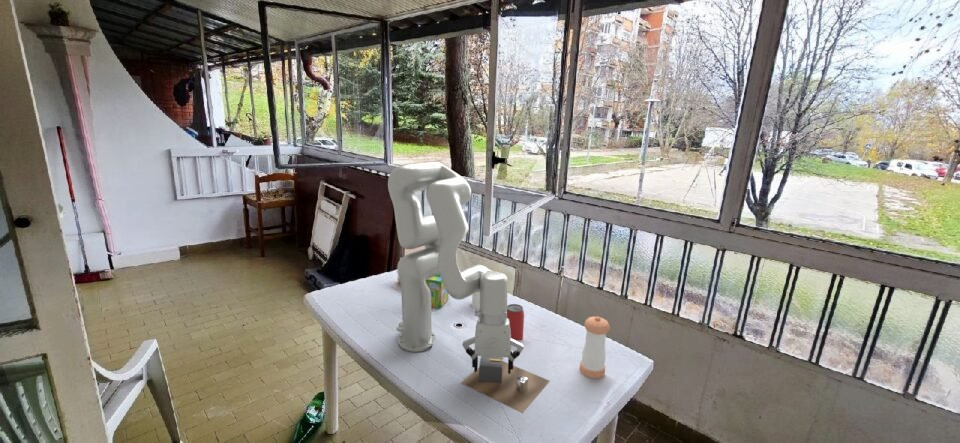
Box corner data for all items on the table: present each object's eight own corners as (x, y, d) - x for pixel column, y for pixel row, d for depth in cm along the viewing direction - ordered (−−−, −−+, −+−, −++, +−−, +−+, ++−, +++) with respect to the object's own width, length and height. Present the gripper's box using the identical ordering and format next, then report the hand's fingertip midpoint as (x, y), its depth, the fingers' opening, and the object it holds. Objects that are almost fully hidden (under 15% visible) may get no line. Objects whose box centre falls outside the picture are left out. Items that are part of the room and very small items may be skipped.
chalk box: (419, 305, 164) (419, 271, 160) (428, 296, 172) (428, 263, 169) (441, 309, 161) (440, 274, 158) (449, 299, 170) (449, 265, 166)
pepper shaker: (589, 385, 118) (595, 325, 113) (574, 370, 124) (579, 313, 119) (609, 379, 121) (616, 320, 116) (593, 365, 127) (599, 309, 122)
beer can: (521, 345, 137) (523, 313, 134) (502, 343, 138) (503, 310, 135) (523, 335, 143) (525, 304, 140) (505, 333, 145) (506, 302, 142)
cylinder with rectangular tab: (480, 298, 172) (481, 271, 168) (498, 304, 167) (499, 276, 163) (467, 305, 164) (467, 278, 161) (485, 312, 159) (486, 283, 156)
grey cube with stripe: (478, 381, 116) (479, 365, 115) (480, 367, 122) (481, 352, 121) (501, 383, 116) (502, 367, 114) (502, 369, 122) (502, 354, 120)
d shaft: (514, 389, 113) (515, 379, 112) (519, 384, 115) (519, 374, 114) (522, 393, 112) (523, 382, 111) (527, 388, 114) (527, 378, 113)
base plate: (460, 387, 116) (460, 382, 115) (491, 360, 128) (491, 356, 128) (522, 417, 105) (522, 412, 104) (549, 385, 117) (550, 380, 117)
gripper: (460, 320, 111) (461, 376, 115) (524, 323, 110) (522, 379, 114) (464, 308, 118) (464, 361, 122) (524, 311, 117) (522, 364, 121)
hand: (492, 370), depth 118 cm, fingers open, 9 cm apart
